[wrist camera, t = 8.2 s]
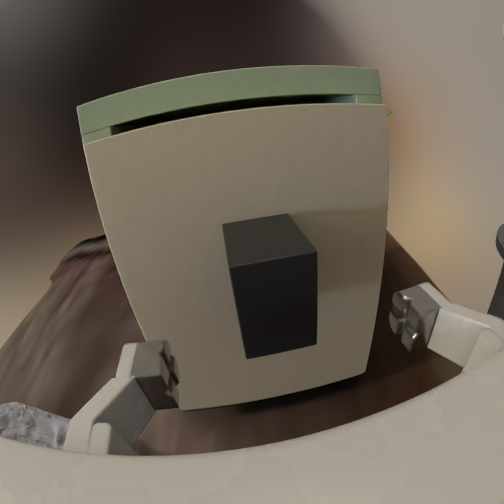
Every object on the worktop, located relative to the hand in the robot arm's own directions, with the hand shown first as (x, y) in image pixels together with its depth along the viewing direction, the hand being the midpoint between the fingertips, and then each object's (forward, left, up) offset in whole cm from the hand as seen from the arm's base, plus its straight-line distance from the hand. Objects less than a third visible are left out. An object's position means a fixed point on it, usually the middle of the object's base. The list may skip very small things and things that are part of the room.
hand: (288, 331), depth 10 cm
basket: (0, -10, -11) cm, 15 cm away
